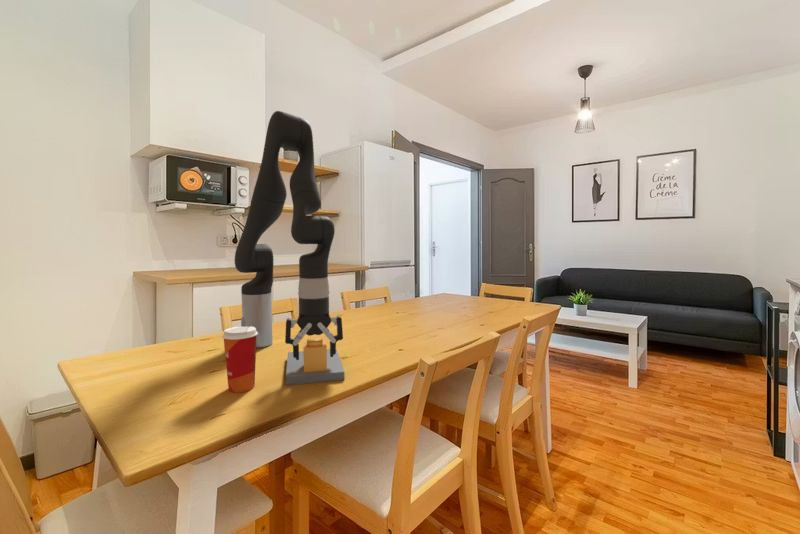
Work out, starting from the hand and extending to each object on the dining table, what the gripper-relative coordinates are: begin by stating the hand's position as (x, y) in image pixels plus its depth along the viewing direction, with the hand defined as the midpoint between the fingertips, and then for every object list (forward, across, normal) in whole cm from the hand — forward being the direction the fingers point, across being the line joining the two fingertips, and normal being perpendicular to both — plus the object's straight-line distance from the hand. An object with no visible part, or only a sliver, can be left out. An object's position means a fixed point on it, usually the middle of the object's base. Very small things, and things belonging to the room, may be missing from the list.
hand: (314, 357), depth 95 cm
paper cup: (+5, +17, +4) cm, 18 cm away
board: (+5, 0, -5) cm, 7 cm away
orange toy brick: (+3, 0, 0) cm, 3 cm away
